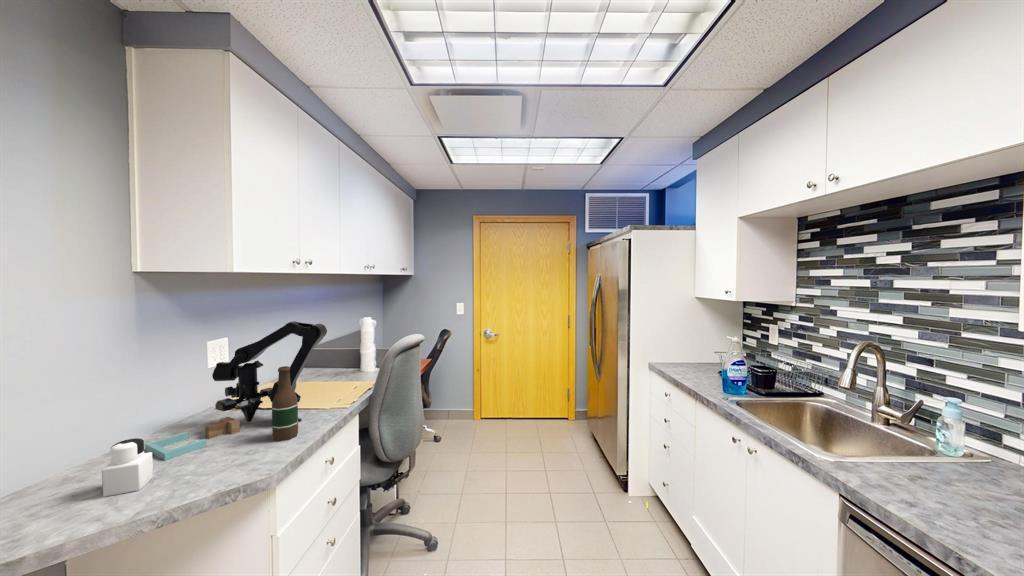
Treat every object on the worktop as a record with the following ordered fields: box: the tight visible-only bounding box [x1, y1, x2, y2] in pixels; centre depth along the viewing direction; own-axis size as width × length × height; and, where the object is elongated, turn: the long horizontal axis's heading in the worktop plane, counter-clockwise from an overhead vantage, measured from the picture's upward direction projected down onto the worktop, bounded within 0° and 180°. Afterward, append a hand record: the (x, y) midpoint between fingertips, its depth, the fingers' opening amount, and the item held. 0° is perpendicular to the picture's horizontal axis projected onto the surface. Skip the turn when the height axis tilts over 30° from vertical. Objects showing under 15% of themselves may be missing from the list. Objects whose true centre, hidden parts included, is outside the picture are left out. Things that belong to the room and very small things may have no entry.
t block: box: [204, 416, 241, 440], centre depth 129 cm, size 8×8×4 cm
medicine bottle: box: [101, 438, 154, 498], centre depth 97 cm, size 7×7×12 cm
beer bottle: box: [271, 365, 299, 442], centre depth 126 cm, size 8×8×24 cm
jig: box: [144, 431, 208, 461], centre depth 119 cm, size 14×10×2 cm
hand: (249, 421), depth 137 cm, fingers closed
